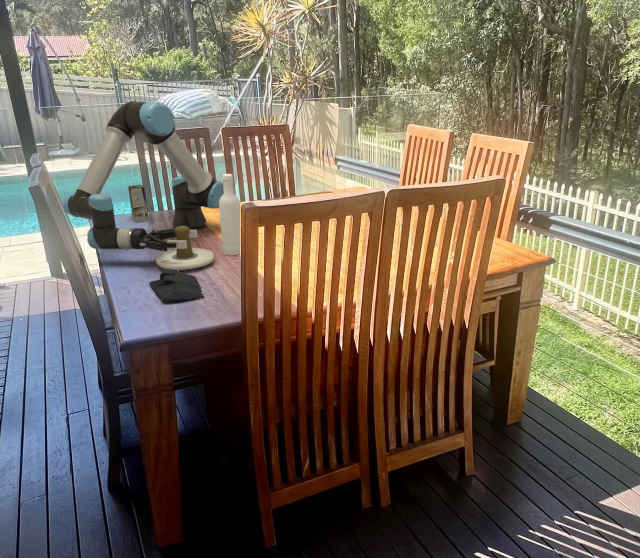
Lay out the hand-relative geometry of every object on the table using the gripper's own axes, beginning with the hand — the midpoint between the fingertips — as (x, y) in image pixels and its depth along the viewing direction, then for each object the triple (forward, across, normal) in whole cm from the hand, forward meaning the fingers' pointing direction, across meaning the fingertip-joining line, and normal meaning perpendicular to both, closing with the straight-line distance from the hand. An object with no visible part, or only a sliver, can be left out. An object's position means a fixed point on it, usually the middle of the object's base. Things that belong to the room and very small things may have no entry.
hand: (191, 239), depth 186 cm
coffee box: (-44, -64, -10) cm, 78 cm away
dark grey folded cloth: (+1, +25, -10) cm, 27 cm away
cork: (-3, 0, -7) cm, 7 cm away
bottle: (+11, -14, -10) cm, 20 cm away
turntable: (-3, 0, -8) cm, 9 cm away
